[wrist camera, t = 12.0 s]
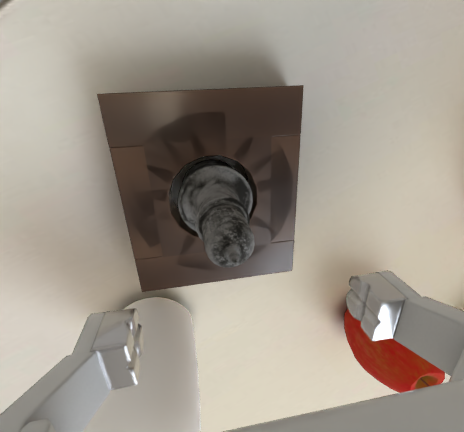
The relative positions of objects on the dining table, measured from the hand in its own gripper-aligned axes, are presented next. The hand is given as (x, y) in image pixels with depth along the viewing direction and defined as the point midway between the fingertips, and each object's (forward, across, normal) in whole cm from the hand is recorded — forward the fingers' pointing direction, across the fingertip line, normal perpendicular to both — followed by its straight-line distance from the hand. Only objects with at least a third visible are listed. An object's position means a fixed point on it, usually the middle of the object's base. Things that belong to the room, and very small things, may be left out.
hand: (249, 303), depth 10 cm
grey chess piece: (+15, 0, 0) cm, 15 cm away
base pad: (+15, 0, 0) cm, 15 cm away
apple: (+15, -18, +18) cm, 30 cm away
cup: (+15, +7, +14) cm, 22 cm away
